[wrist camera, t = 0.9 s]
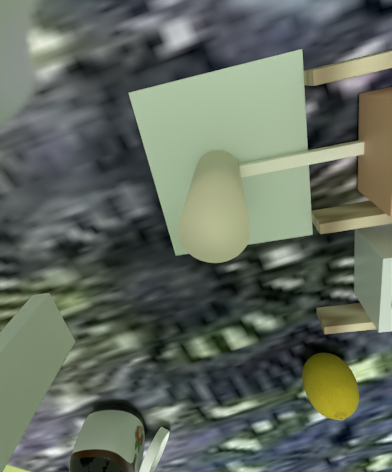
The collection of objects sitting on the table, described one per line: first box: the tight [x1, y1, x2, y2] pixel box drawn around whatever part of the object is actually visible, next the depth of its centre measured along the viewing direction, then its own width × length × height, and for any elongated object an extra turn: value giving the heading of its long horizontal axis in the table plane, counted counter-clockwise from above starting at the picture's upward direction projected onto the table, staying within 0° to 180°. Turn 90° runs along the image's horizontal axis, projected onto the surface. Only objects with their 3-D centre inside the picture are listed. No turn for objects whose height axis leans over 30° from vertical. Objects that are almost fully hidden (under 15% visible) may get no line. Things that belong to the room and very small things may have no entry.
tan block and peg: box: [178, 87, 392, 263], centre depth 21 cm, size 22×8×12 cm, turn 102°
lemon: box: [302, 353, 359, 420], centre depth 34 cm, size 6×6×8 cm
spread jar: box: [69, 404, 170, 472], centre depth 42 cm, size 12×11×12 cm
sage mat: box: [129, 49, 313, 256], centre depth 28 cm, size 14×16×1 cm
